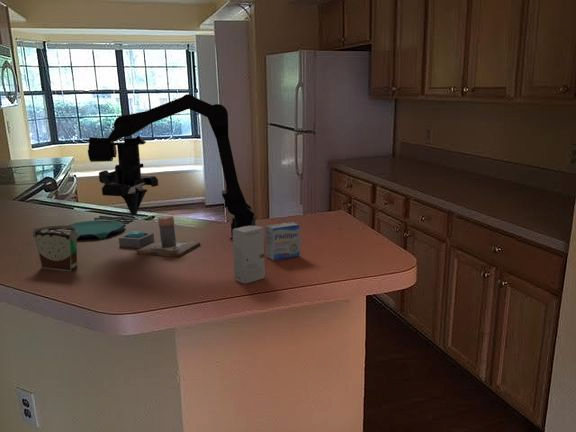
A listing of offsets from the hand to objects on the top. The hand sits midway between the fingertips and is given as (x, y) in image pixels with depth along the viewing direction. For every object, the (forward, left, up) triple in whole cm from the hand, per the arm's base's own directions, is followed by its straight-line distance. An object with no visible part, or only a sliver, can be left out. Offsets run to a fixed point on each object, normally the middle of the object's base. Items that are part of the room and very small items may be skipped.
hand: (133, 215), depth 142 cm
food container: (+6, +22, -9) cm, 24 cm away
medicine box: (-45, 0, -9) cm, 46 cm away
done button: (0, 0, -8) cm, 8 cm away
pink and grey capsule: (-12, +2, -8) cm, 14 cm away
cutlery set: (+23, -13, -9) cm, 28 cm away
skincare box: (-43, +18, -9) cm, 48 cm away
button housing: (0, 0, -9) cm, 9 cm away
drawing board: (-12, +2, -9) cm, 15 cm away
